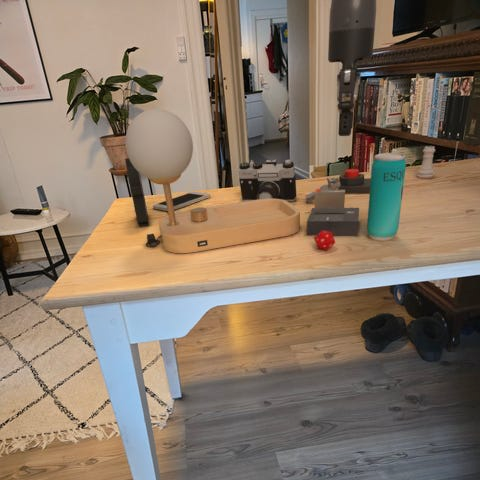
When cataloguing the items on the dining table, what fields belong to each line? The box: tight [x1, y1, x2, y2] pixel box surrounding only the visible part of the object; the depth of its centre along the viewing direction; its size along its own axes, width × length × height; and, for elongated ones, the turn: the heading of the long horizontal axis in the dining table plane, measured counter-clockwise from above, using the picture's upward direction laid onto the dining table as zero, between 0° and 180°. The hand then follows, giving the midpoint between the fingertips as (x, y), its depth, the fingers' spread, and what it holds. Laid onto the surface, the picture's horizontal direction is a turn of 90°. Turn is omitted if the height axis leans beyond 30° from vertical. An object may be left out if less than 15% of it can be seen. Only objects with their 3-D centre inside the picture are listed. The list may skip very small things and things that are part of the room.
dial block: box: [304, 207, 360, 237], centre depth 86 cm, size 11×11×3 cm
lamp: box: [124, 108, 301, 254], centre depth 83 cm, size 33×17×25 cm, turn 105°
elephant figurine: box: [304, 176, 341, 203], centre depth 102 cm, size 10×6×9 cm
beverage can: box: [366, 152, 407, 242], centre depth 76 cm, size 6×6×15 cm
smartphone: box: [152, 191, 211, 212], centre depth 113 cm, size 7×16×1 cm, turn 139°
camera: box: [237, 159, 297, 202], centre depth 104 cm, size 15×11×10 cm
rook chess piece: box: [416, 145, 436, 179], centre depth 114 cm, size 4×4×8 cm
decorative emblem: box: [124, 157, 150, 228], centre depth 98 cm, size 12×2×15 cm, turn 13°
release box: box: [338, 172, 371, 194], centre depth 110 cm, size 10×9×4 cm
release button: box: [344, 168, 360, 178], centre depth 110 cm, size 4×4×2 cm
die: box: [313, 230, 336, 252], centre depth 76 cm, size 4×4×4 cm
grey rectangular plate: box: [314, 188, 346, 213], centre depth 85 cm, size 6×1×5 cm, turn 75°
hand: (345, 132), depth 77 cm, fingers open, 8 cm apart
